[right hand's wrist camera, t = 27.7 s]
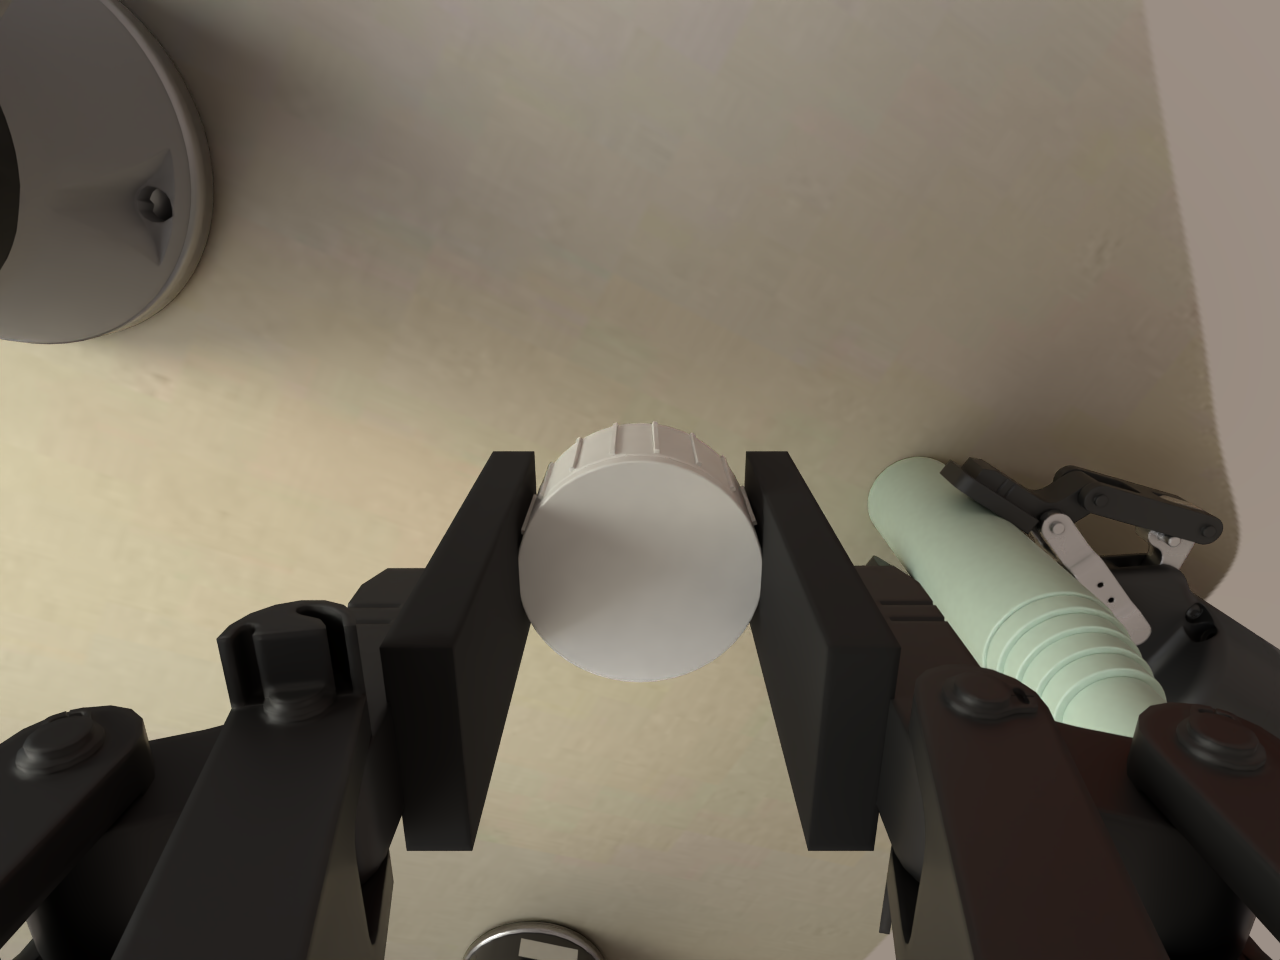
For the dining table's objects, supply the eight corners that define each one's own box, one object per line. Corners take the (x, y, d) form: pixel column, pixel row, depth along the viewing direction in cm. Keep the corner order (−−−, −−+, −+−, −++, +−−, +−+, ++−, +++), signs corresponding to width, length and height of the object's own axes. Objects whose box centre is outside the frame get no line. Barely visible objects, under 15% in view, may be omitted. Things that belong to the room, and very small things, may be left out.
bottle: (913, 438, 37) (1199, 689, 18) (978, 492, 38) (1313, 783, 19) (848, 506, 38) (1052, 807, 19) (912, 557, 39) (1167, 890, 20)
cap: (523, 606, 15) (505, 671, 13) (542, 404, 13) (524, 441, 11) (727, 630, 15) (742, 698, 13) (766, 432, 14) (789, 474, 12)
